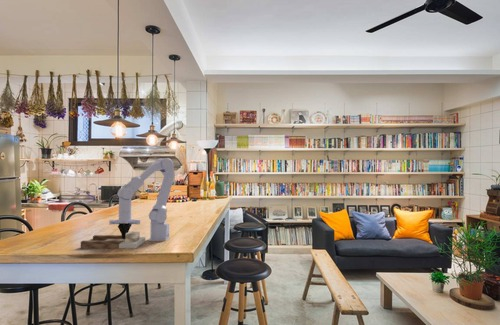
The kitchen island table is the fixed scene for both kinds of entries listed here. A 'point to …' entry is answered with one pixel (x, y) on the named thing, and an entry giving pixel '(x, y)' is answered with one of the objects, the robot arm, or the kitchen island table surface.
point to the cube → (132, 236)
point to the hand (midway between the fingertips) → (124, 238)
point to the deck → (110, 242)
